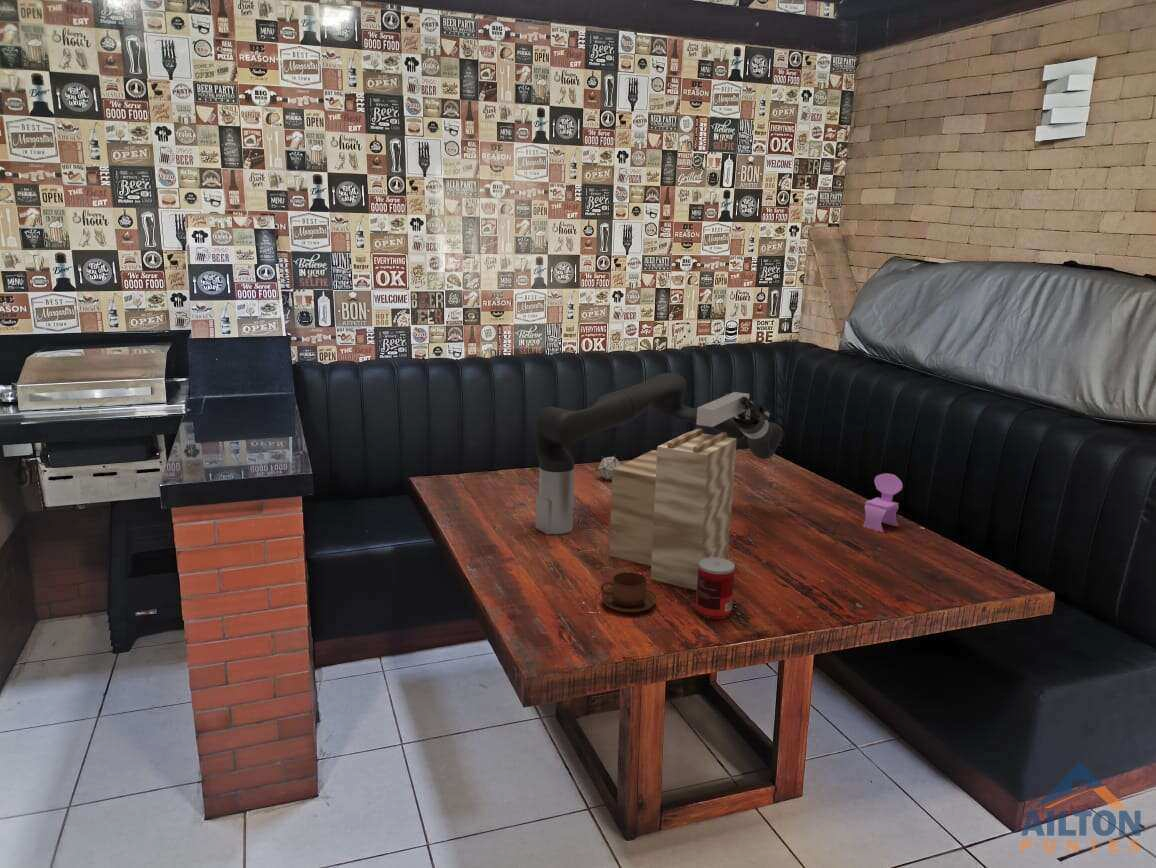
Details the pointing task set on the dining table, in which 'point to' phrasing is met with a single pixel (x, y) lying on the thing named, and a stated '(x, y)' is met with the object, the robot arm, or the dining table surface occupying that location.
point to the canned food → (715, 587)
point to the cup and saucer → (628, 593)
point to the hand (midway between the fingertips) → (734, 398)
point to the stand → (674, 506)
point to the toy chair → (883, 503)
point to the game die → (608, 466)
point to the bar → (720, 409)
